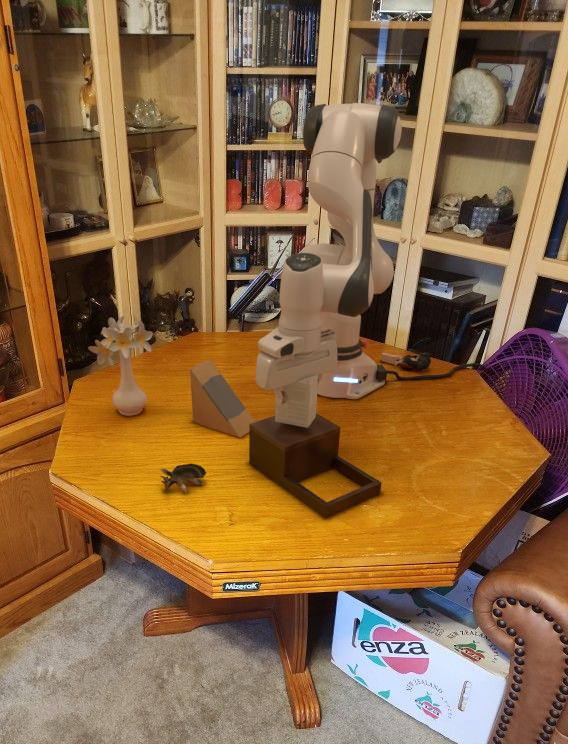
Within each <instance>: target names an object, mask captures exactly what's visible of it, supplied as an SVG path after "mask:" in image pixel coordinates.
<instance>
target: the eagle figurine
mask: <svg viewBox="0 0 568 744" xmlns="http://www.w3.org/2000/svg"><path fill="white" fill-rule="evenodd" d="M160 472H161V473H163V474H164V475H165V476H164V475H160V476H159V477H161V478H162V479H163V480H161V481H160V483H162V484H163V485H164V491H165V492H168V491H169V490H170V488H171V487H172V486H173V485H175V484H176V486H177V487H179V488H180V489H181V490H182V491H183V492H184V494H187V487H186V485H185V482H189V483H193V484H196V485H199V486H202V485H203V484H204V482H203V481H202V480H201V479H203V478H205V476H206V475H207V471H206V469H205V468H204V467H202V465H199V464H196V463H185V464H178V465H176V466H175V467H174V468H173V469H172V471H171V470H168V469H167V468H163V467H161V468H160Z"/></svg>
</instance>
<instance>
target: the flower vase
mask: <svg viewBox="0 0 568 744" xmlns="http://www.w3.org/2000/svg"><path fill="white" fill-rule="evenodd" d="M132 316H133V321H134V325H131V326H127V324H126V323H125V322H124V319H125V317H124V315H122V316H120V317H119V318H118V319H117V321H116V320H115V319H114V317H109V318H108V320H107V324H108V327H105V326H104V327H102V330H101V332H100V335H101V336H103V337H105V338H104V339H102V340H101V341H99V340H98V339H95V340H94V343H95V345H96V346H95V345H94V346H93V345H91V346H88V348H87V349H88V350H89V351H90V352H91V353H94V354H97V357H96V362H97V364H98V365H100V366H101V365H103V364H104V363H105V361H106V362H107V364H108V365H110V366H111V367H115V363H114V360H113V357H112V356H114V352H117V354H118V358H119V368H120V369H119V370H120V381H119V385H118V387H117V388H116V390H115V391H114V392H113V394H112V395H111V396H112V397H111V403H112V406H113V407H114V408H116V410H117V411H118V412H119V413H120V414H121V415H123V416H125V417H126V416H127V417H132V416H136V415H137V416H138V415H139V414H141V413H142V411H143V408H144V407H145V406H146V405H147V403H148V396H147V394H146V392H145V391H144V390H143V389H142V388H141V387H140V386H138V383H137V382H136V380H135V377H134V371H133V363H132V349H136V348H137V350H138V353H139V354H140V355H142V354H143V352H144V350H145V351H147V352H148V353H152V346H151V345H150V343H149V342H148V341H149V340H151V339H152V337H153V335H154V333H153V331H151V330H146V329H145V324H144V323H143V321H142V319H137V317H136V314H135V313H132ZM132 335H133V338H131V337H132Z"/></svg>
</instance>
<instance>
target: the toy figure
mask: <svg viewBox="0 0 568 744" xmlns="http://www.w3.org/2000/svg"><path fill="white" fill-rule="evenodd" d="M406 351H408V352H410V353H412V354H414V355H410V354H406V355H404V356H402V355H401V354H392V353H388V352H383V353H382V354H381V362H384V363H387V364H391V365H393V366H398V365H400V364H401V365H402V364H403V365H406V366H407V367H403V366H401V368H402V370H407V371H411V370H416V371H417V370H418V371H421V372H424V371H427V370H428V368H430V365H431V363H432V358H431V355H432V354H431V353H430V352H428V351H427V352H420V351H418V350H416V349H413V348H410V347H408V348H406ZM408 367H410V368H408Z"/></svg>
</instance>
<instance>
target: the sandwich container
mask: <svg viewBox="0 0 568 744" xmlns="http://www.w3.org/2000/svg"><path fill="white" fill-rule="evenodd" d="M189 372H190V373H189V376H190V394H191V409H192V422H193V423H195V424H198V425H201V426H203V427H206V428H209V429H212V430H215V431H218V432H222V433H224V434H228V435H231V436H234V437H237V438H242V437H243V436H245V435H247V434H249V424H251V423H254V422H256V420H255V419H254V418H253V416H252V414H251V413H250V412H249V411H248V410H247V408H246V407H245V405H244V404H243V403H242V401H241V399H239V397H238V396H237V394H236V393H235V391H234V390H233V389H232V387H231V386H230V384H229V383H228V382H227V381H226V379H225V377H224V376H223V374H222V373H221V372H220V371H219V368H218V367H217V365H215V363H214V362H213V360H212V358H208V359H206V360H204V361H202V362H199V363H198V364H196V365H194V366H192V367H190V369H189Z"/></svg>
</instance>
